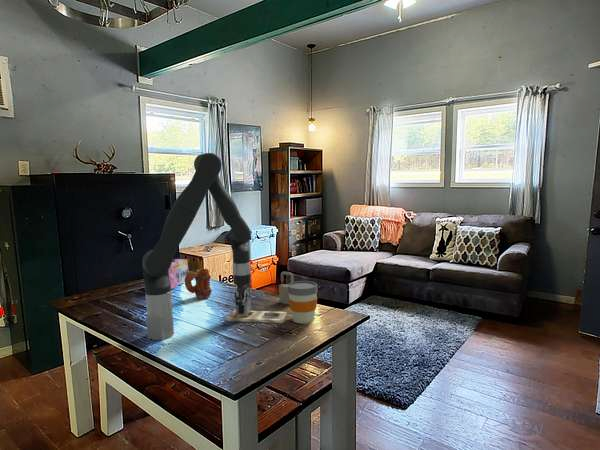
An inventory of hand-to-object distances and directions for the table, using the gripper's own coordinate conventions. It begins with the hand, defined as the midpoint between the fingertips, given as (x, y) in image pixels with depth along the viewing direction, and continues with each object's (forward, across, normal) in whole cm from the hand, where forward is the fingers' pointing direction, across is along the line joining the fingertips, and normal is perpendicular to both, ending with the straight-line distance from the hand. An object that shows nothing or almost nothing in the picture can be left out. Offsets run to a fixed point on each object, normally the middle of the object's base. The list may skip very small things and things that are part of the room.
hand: (243, 311), depth 163 cm
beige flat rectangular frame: (+3, 0, -6) cm, 7 cm away
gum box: (+3, +45, +56) cm, 72 cm away
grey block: (+1, 0, 0) cm, 1 cm away
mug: (+3, +23, +31) cm, 39 cm away
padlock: (+3, +21, -15) cm, 26 cm away
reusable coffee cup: (+3, 0, -26) cm, 26 cm away
